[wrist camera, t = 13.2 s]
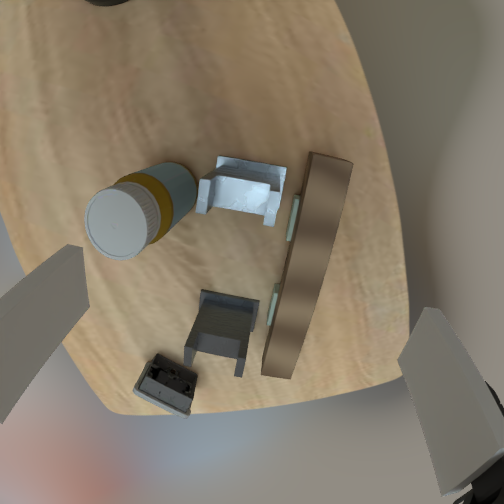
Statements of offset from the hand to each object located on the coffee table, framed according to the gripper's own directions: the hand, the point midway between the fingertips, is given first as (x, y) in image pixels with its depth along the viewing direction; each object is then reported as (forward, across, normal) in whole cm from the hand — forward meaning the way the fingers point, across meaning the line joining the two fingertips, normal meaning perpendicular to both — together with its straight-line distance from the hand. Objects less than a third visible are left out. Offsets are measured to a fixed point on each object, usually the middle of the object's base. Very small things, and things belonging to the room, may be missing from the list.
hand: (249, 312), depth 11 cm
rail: (+24, +6, -10) cm, 27 cm away
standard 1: (+26, -2, -19) cm, 33 cm away
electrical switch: (+26, -10, -33) cm, 43 cm away
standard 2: (+27, -2, -1) cm, 27 cm away
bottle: (+27, -11, -4) cm, 30 cm away
